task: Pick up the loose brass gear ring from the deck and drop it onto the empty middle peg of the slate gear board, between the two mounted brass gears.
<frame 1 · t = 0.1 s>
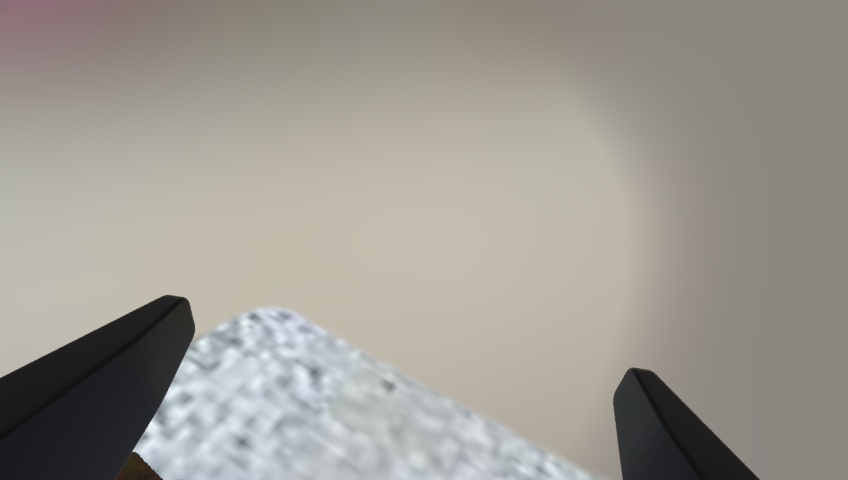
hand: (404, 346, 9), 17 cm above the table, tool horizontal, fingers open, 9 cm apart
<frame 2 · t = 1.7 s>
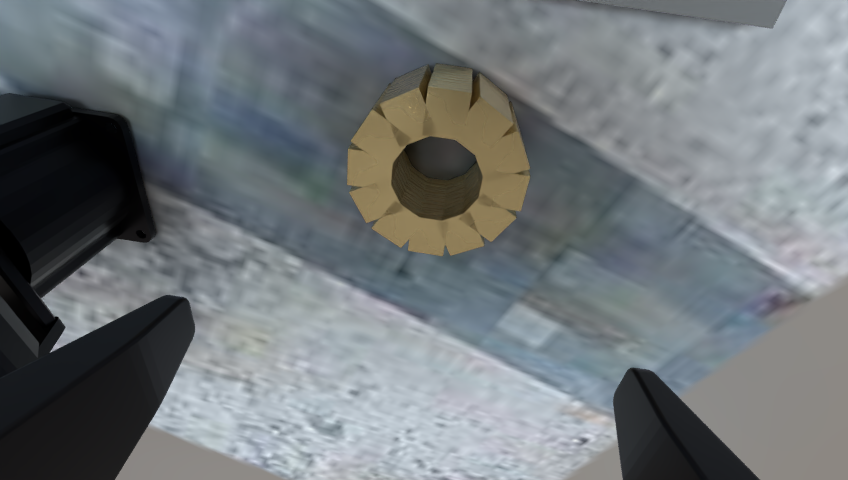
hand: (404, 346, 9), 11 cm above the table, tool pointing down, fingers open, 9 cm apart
brass gear: (442, 145, 19), on the table
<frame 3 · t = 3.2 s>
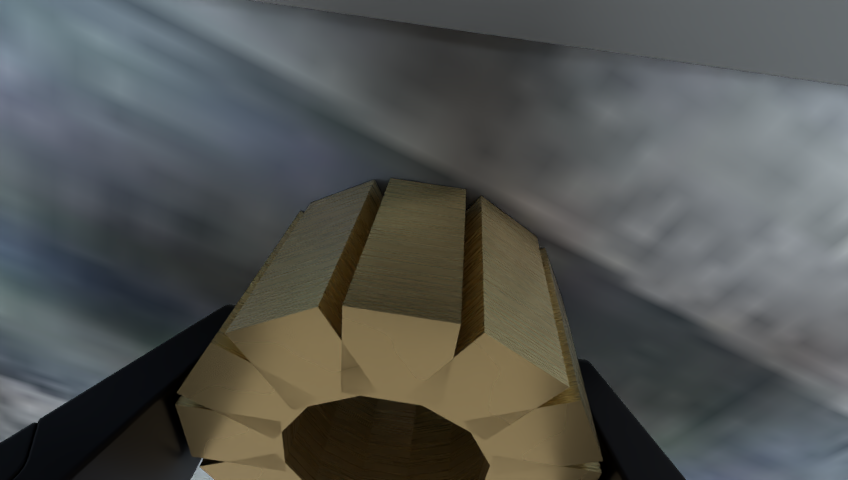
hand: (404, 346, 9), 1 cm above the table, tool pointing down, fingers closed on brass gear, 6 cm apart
brass gear: (410, 312, 10), on the table, touching gripper
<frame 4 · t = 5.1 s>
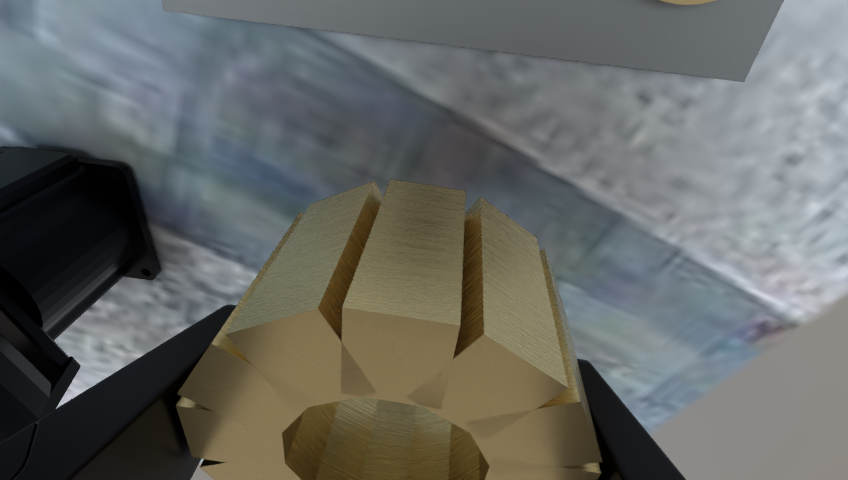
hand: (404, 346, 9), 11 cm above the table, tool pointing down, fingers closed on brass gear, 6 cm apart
brass gear: (410, 312, 10), point 10 cm above the table, touching gripper
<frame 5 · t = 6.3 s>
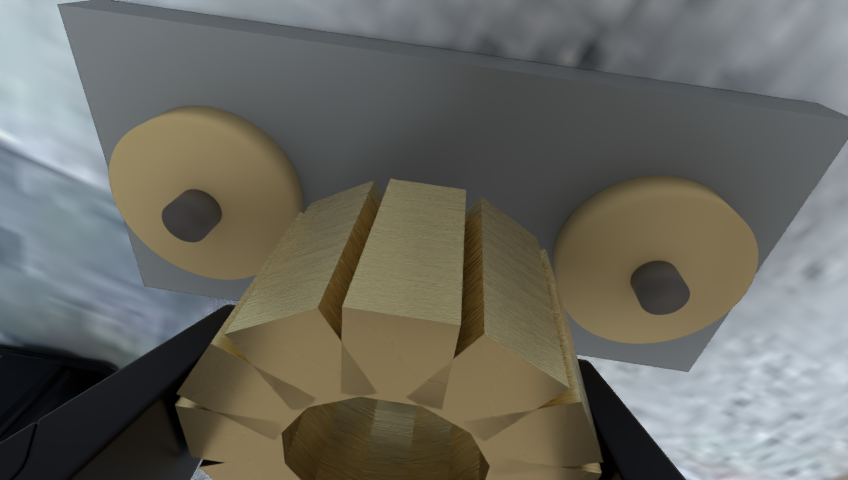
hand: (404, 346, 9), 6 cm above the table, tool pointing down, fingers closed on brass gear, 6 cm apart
gear board: (433, 197, 14), on the table
brass gear: (410, 312, 10), point 5 cm above the table, touching gripper
when the fingers open (4 cm above the table, at t = 7.3 s): brass gear drops 1 cm, resting on gear board.
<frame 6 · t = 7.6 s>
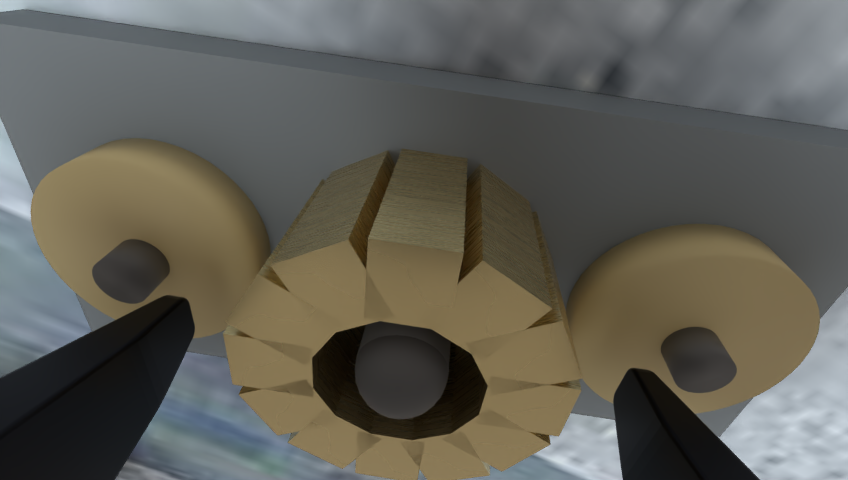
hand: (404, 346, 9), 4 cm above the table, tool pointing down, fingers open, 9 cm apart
gear board: (425, 238, 12), on the table
brass gear: (418, 272, 11), point 1 cm above the table, touching gear board
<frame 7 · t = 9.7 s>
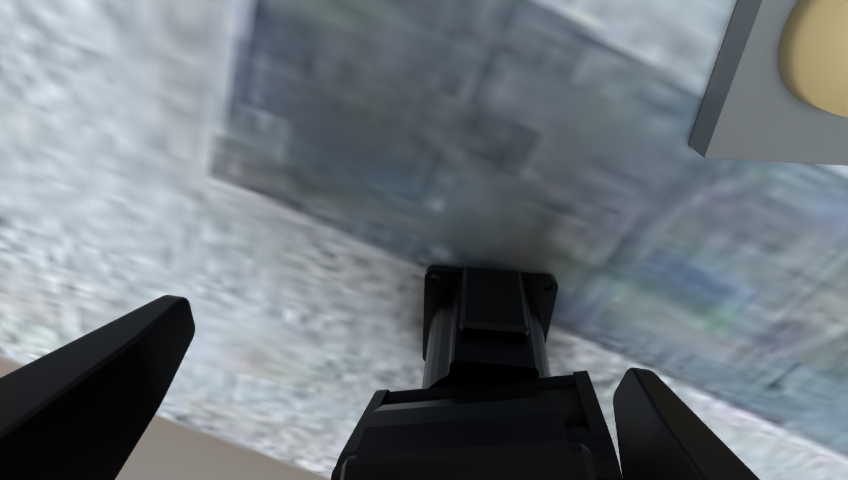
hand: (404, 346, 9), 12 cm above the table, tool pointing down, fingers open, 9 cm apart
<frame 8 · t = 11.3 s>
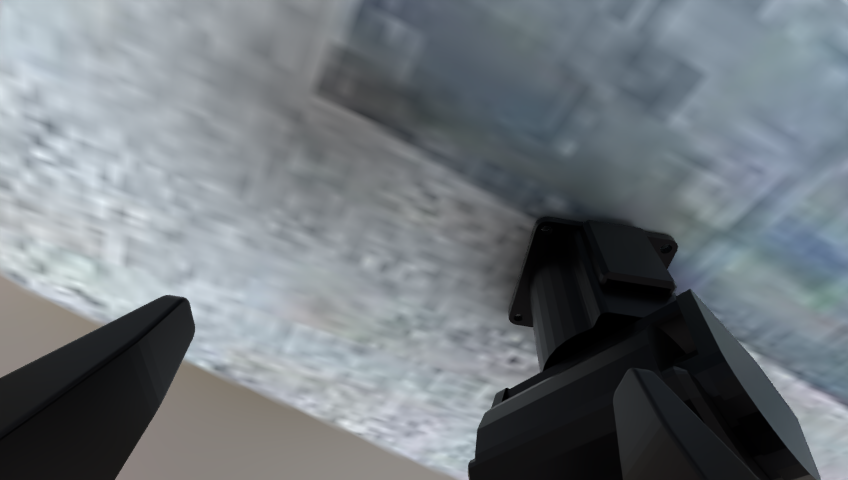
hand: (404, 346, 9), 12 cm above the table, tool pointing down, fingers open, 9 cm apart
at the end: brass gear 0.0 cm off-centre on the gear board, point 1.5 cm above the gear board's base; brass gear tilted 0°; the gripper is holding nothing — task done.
